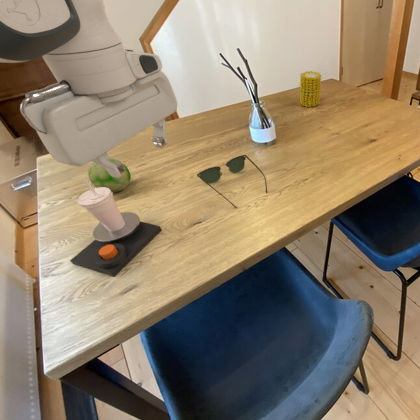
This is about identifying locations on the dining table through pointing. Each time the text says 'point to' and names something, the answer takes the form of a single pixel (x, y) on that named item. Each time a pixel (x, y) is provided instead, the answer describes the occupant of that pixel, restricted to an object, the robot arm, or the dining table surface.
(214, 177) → the sunglasses
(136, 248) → the scale
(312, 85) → the food
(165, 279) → the dining table surface
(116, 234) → the scale pan
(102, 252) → the tare button
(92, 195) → the smoothie
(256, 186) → the dining table surface
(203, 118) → the dining table surface
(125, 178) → the decorative ball
